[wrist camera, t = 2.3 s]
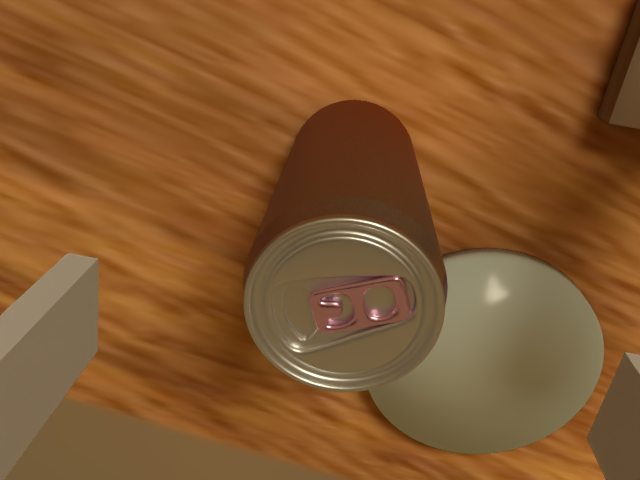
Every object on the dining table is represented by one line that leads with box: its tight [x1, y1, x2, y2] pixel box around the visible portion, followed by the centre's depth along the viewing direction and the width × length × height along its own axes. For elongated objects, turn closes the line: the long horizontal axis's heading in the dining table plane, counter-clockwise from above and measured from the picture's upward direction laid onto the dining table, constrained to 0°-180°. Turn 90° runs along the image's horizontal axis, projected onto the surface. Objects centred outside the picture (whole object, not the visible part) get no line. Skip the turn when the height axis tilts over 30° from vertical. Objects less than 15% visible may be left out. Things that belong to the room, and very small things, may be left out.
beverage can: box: [243, 100, 448, 392], centre depth 23 cm, size 6×6×15 cm
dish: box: [369, 248, 604, 454], centre depth 34 cm, size 13×13×1 cm
